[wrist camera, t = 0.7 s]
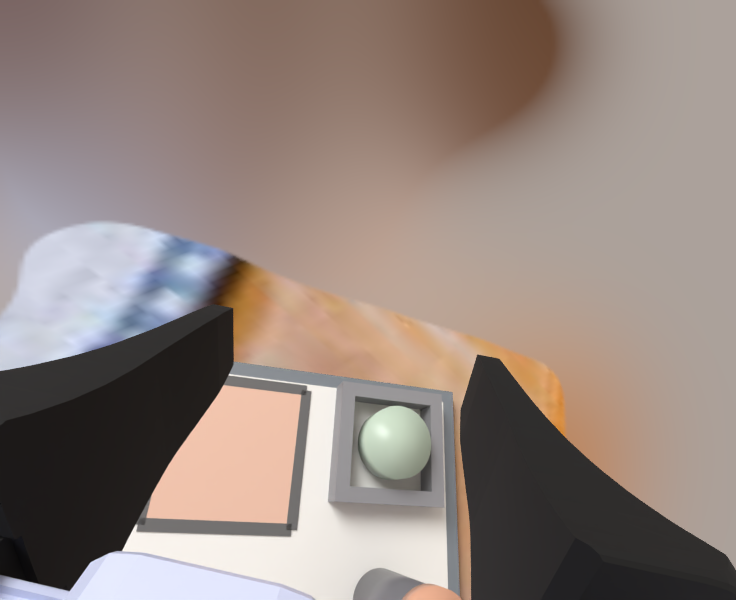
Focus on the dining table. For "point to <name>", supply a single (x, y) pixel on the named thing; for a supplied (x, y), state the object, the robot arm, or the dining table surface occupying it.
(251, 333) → the dining table surface
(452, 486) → the board
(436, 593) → the marker
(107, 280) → the dining table surface
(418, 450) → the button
